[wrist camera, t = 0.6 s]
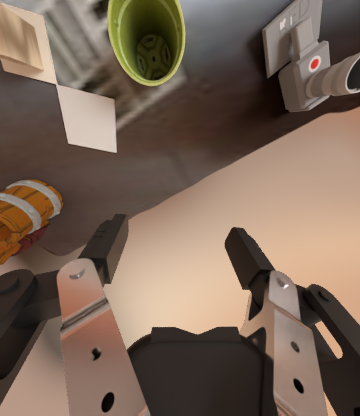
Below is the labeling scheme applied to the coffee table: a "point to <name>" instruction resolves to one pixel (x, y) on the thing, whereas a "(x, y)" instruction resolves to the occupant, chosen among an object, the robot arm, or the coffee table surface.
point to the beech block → (18, 40)
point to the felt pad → (88, 119)
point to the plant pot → (141, 31)
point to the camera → (306, 58)
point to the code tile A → (44, 48)
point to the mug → (25, 214)
